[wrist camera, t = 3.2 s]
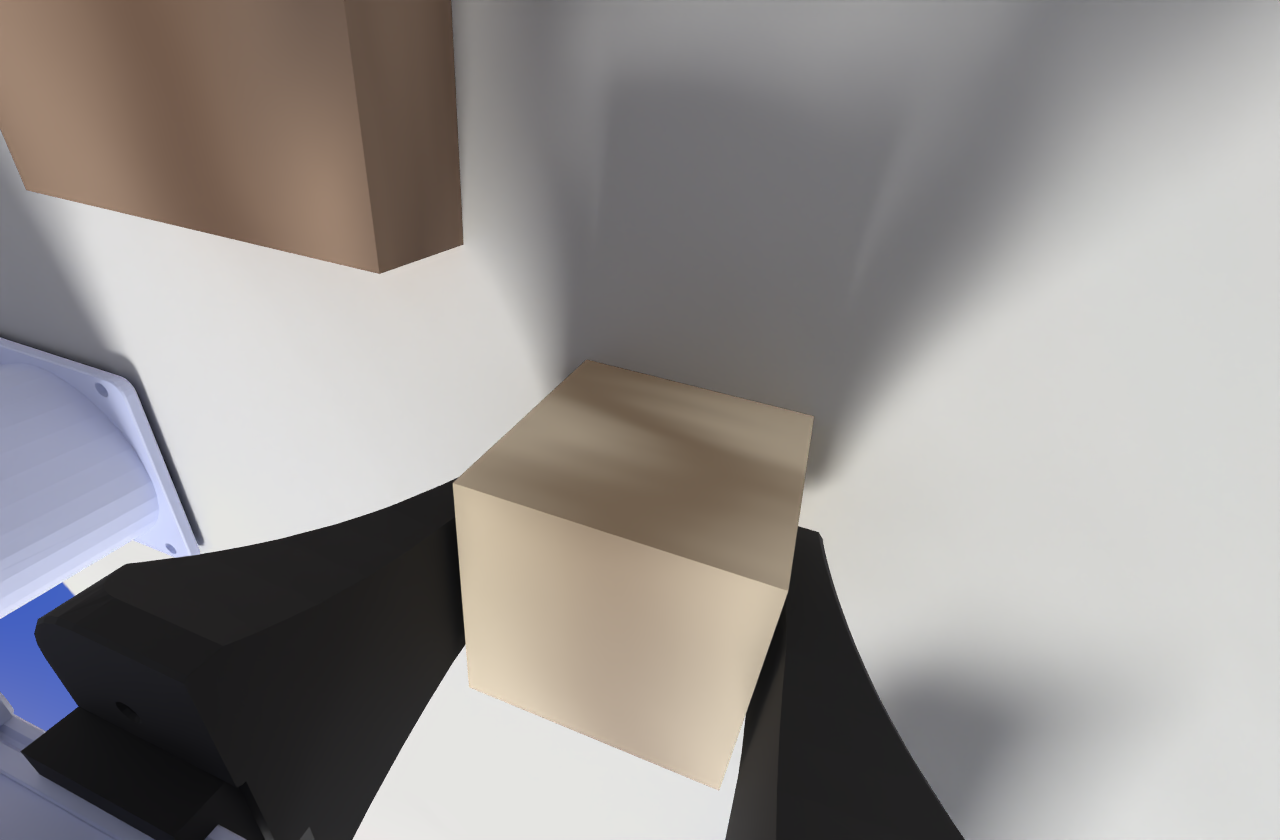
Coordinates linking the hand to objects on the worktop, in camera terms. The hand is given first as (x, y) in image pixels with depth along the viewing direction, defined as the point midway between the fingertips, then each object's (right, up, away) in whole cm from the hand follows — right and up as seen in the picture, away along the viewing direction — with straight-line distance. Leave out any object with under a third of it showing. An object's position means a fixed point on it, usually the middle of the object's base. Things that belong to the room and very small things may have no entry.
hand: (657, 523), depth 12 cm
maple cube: (+1, +1, +1) cm, 2 cm away
